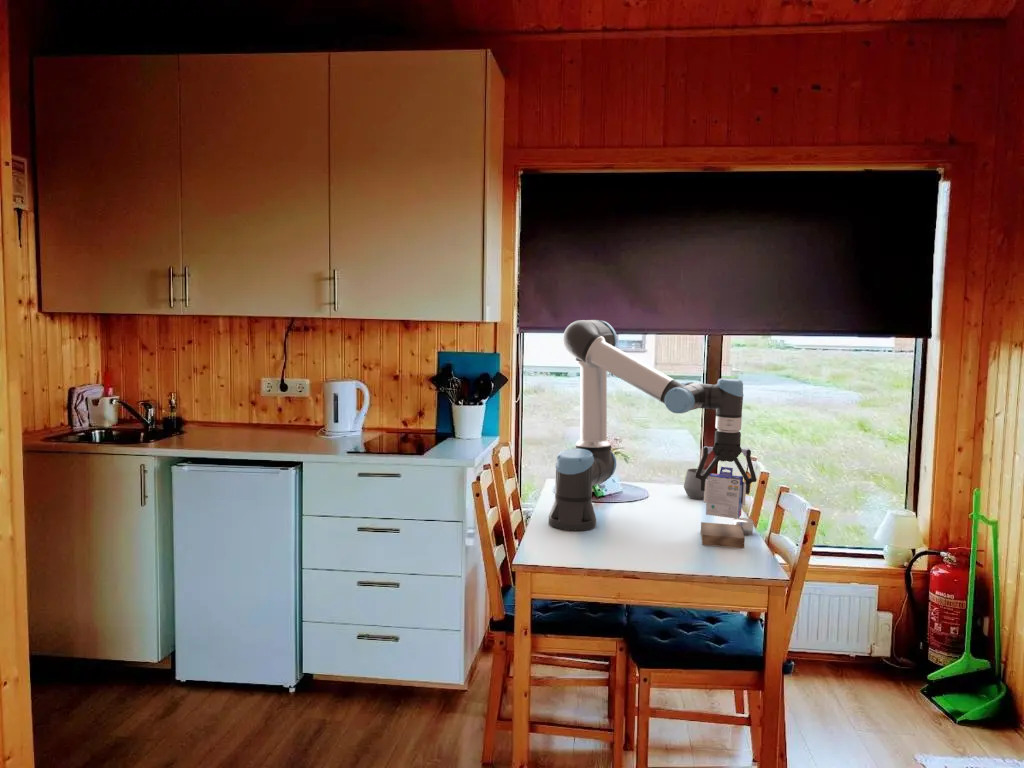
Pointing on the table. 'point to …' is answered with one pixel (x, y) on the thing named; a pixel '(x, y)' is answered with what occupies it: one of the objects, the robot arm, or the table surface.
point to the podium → (722, 535)
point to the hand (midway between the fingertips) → (724, 502)
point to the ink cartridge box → (724, 494)
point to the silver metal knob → (744, 525)
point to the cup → (693, 484)
